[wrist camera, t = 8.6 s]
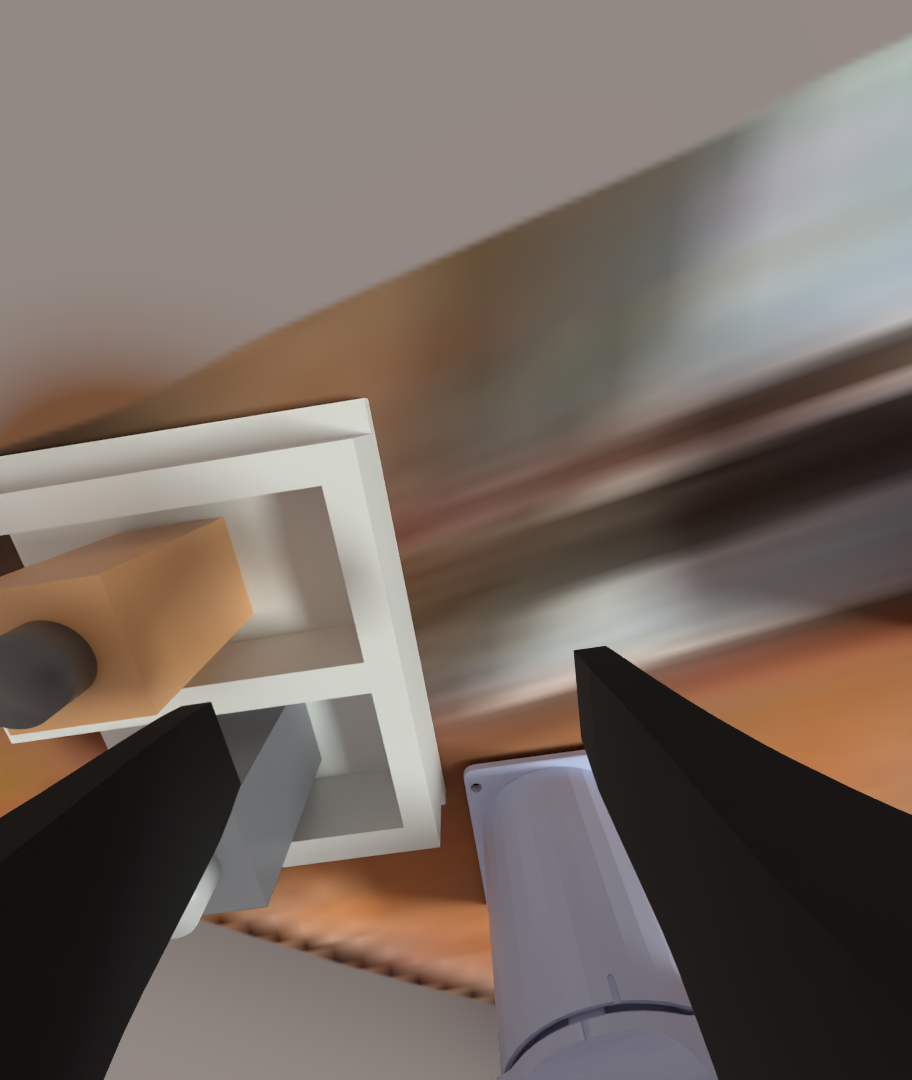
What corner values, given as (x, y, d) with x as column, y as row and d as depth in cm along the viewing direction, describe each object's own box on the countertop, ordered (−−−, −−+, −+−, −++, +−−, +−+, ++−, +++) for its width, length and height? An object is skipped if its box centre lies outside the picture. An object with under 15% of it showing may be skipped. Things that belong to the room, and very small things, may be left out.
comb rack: (445, 789, 21) (445, 869, 17) (162, 827, 21) (102, 913, 18) (367, 398, 16) (343, 394, 12) (-3, 458, 16) (-133, 471, 13)
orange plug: (253, 614, 17) (123, 748, 10) (156, 628, 17) (-38, 771, 10) (223, 516, 16) (54, 595, 9) (119, 533, 16) (-125, 621, 9)
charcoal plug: (321, 759, 19) (250, 952, 12) (233, 771, 19) (114, 969, 12) (299, 681, 18) (206, 847, 11) (205, 694, 18) (57, 866, 11)
